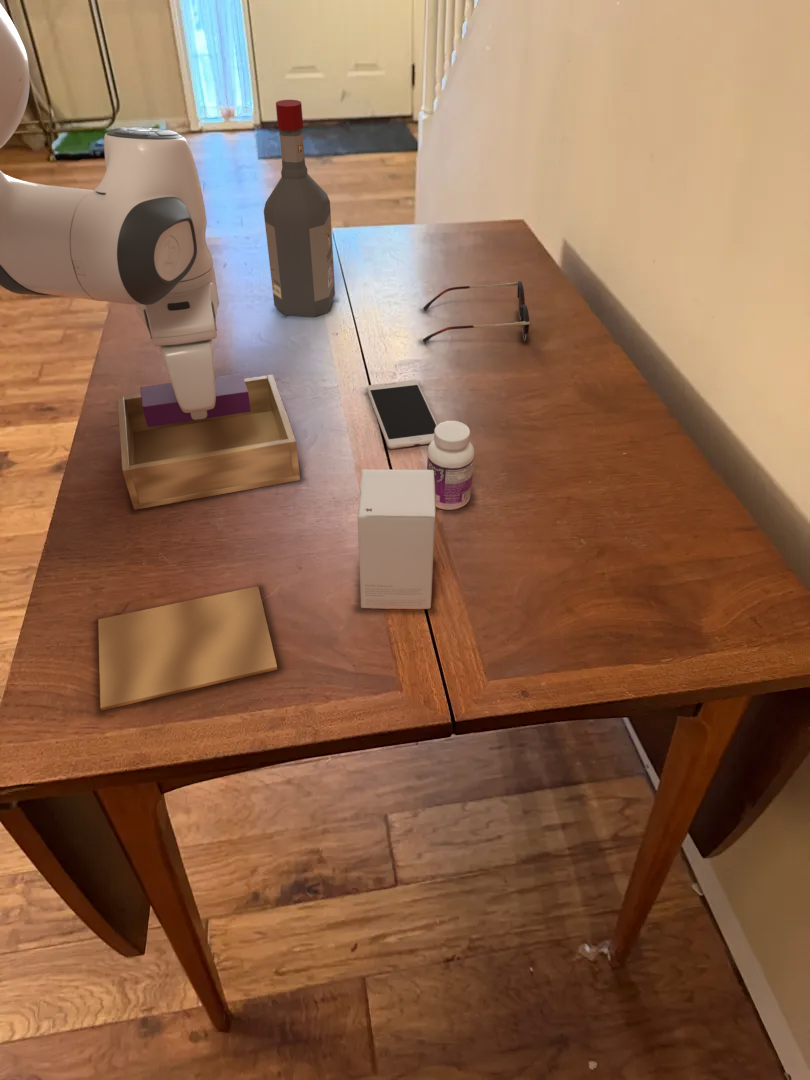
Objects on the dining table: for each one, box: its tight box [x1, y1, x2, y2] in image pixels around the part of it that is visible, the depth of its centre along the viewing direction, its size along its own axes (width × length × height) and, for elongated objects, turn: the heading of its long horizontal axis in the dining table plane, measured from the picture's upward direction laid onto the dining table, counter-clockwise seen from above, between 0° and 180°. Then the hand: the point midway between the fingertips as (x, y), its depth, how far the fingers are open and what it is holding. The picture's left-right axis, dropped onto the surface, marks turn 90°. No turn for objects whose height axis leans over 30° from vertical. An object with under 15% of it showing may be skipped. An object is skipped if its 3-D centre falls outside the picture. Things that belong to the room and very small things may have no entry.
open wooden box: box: [117, 374, 301, 511], centre depth 96 cm, size 20×16×6 cm
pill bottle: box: [426, 420, 475, 511], centre depth 89 cm, size 5×5×10 cm
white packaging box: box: [357, 468, 437, 610], centre depth 77 cm, size 7×7×13 cm
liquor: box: [263, 99, 336, 318], centre depth 119 cm, size 9×9×30 cm
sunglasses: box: [422, 280, 531, 343], centre depth 122 cm, size 14×16×5 cm
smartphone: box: [366, 379, 439, 450], centre depth 105 cm, size 8×1×15 cm
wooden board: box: [97, 585, 279, 711], centre depth 75 cm, size 16×11×1 cm
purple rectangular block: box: [139, 372, 251, 427], centre depth 92 cm, size 12×4×3 cm, turn 107°
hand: (196, 403), depth 92 cm, fingers closed on purple rectangular block, 4 cm apart
